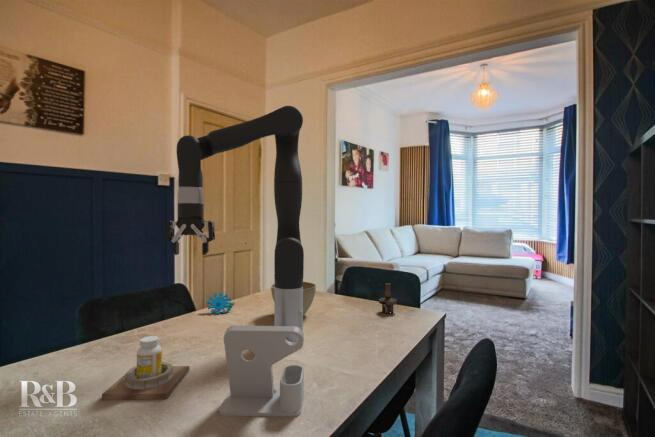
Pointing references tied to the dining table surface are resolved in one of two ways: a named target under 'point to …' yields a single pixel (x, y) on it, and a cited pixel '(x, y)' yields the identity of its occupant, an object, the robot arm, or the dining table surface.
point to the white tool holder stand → (262, 372)
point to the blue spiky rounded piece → (220, 303)
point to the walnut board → (145, 393)
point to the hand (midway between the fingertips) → (190, 254)
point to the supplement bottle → (149, 357)
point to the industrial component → (387, 300)
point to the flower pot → (307, 294)
